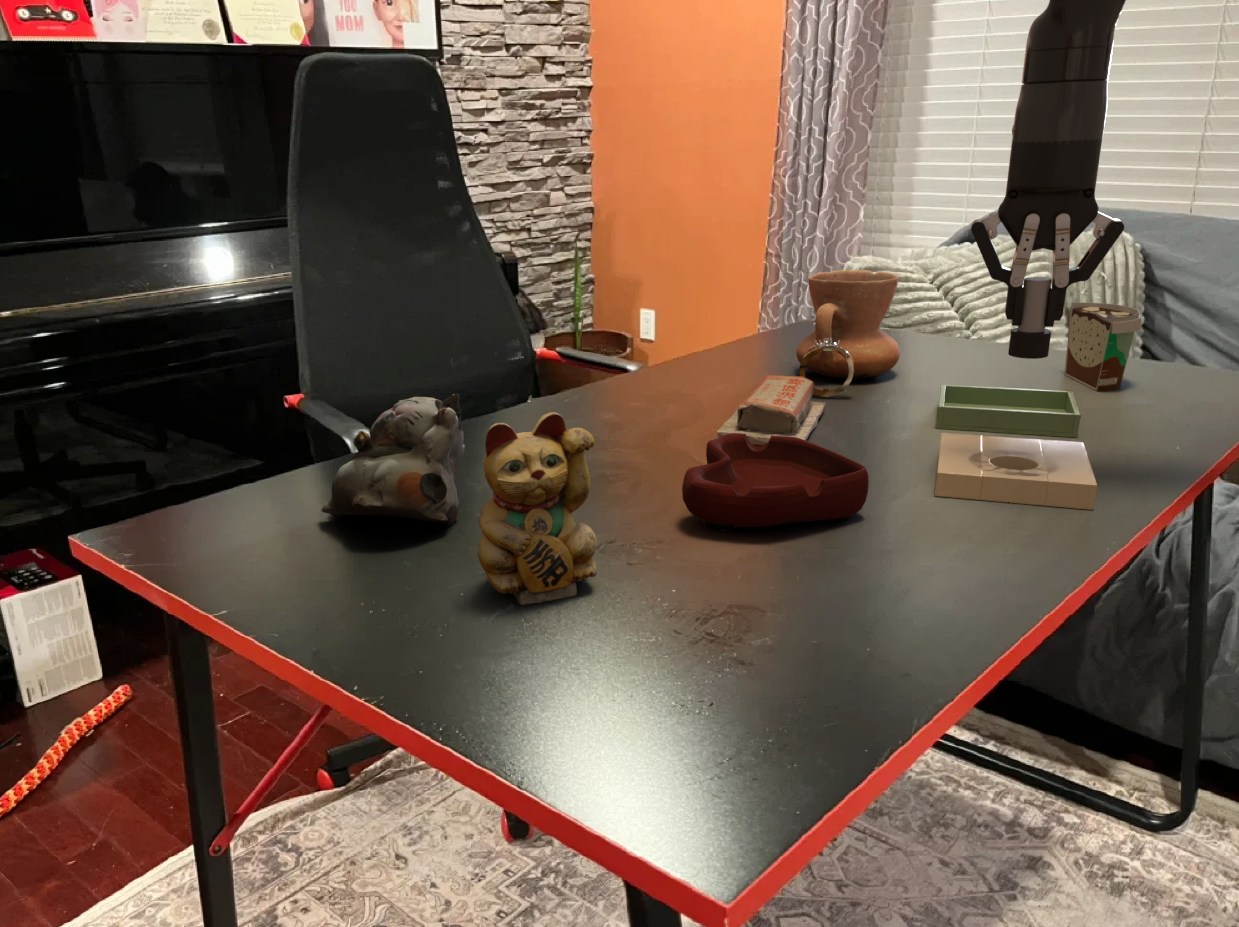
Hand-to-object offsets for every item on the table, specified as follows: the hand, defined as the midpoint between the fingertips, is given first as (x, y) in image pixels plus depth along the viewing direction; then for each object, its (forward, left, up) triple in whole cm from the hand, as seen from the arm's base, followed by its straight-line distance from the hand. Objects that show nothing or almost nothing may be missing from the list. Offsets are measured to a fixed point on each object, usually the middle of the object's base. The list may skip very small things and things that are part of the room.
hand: (1032, 324), depth 99 cm
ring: (+22, -28, -16) cm, 39 cm away
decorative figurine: (+37, +39, -16) cm, 56 cm away
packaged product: (+26, -12, -16) cm, 33 cm away
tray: (0, -22, -16) cm, 27 cm away
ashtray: (+21, +16, -16) cm, 31 cm away
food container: (-13, -45, -16) cm, 49 cm away
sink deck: (0, +1, -16) cm, 16 cm away
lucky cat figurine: (+56, +28, -16) cm, 65 cm away
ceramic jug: (+21, -42, -16) cm, 49 cm away
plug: (0, 0, -3) cm, 3 cm away
